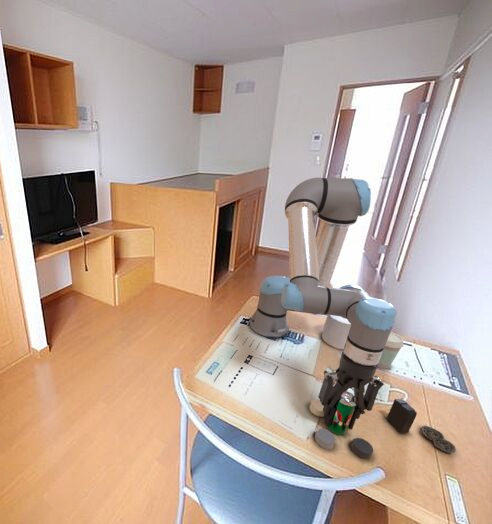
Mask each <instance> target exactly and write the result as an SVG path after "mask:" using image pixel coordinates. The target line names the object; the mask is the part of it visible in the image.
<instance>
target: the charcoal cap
mask: <svg viewBox="0 0 492 524" xmlns="http://www.w3.org/2000/svg"><path fill="white" fill-rule="evenodd" d="M350 450H351V451H352V453H353V454H354V455H355V456H356V457H359V458H360V459H363V460H369V459H371V457H372V455H373V453H374V447H373V445H372V444H371V443H370V442H368V440H366V439H364V438H361V437H354V438H353V439H352V442H351V445H350Z"/></svg>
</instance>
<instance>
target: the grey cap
mask: <svg viewBox="0 0 492 524" xmlns="http://www.w3.org/2000/svg"><path fill="white" fill-rule="evenodd" d="M314 440H315V443H316V444H317V445H318V446H319V447H321V448H323V449H325V450H332V449H333V448H334V447H335V446H334V445H335V443H336V437H335V435H334V433H333V432H332V431H330V430H329V429H325V428H318V429H317V430H316V431H315V436H314Z"/></svg>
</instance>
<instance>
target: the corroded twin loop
mask: <svg viewBox="0 0 492 524" xmlns="http://www.w3.org/2000/svg"><path fill="white" fill-rule="evenodd" d="M421 432H422V435H423V436H424V437H425V438H427V439H428V440H430V441H433V444H434V446H435V448H437V449H439V450H440V451H442V452H444V453H448V454H452V453H453V454H455V452H456V446H455V445H454V443H452V442H450V441H449V440H447V439H445V437H444V434H443V433H442V432H440V431H439V430H438V429H435V428H434V427H432V426H428V425H422V427H421Z"/></svg>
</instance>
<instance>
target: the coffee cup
mask: <svg viewBox="0 0 492 524" xmlns="http://www.w3.org/2000/svg"><path fill="white" fill-rule="evenodd" d="M403 347H404V338H403V337H402V336H401V335H399V334H397V333H396V332H393V331H391V332H390V335H389V337H388V340H387V342H386V345H385V347H384V349H383V352H382V355H381V358H380V360H379V363H378V366H377V368H380V369H385V370H387V369H390V367H391V365H392V364H393V362H394V360H395V359H396V357H397V356H398V354H399V352H400V351H401V349H402V348H403Z"/></svg>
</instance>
